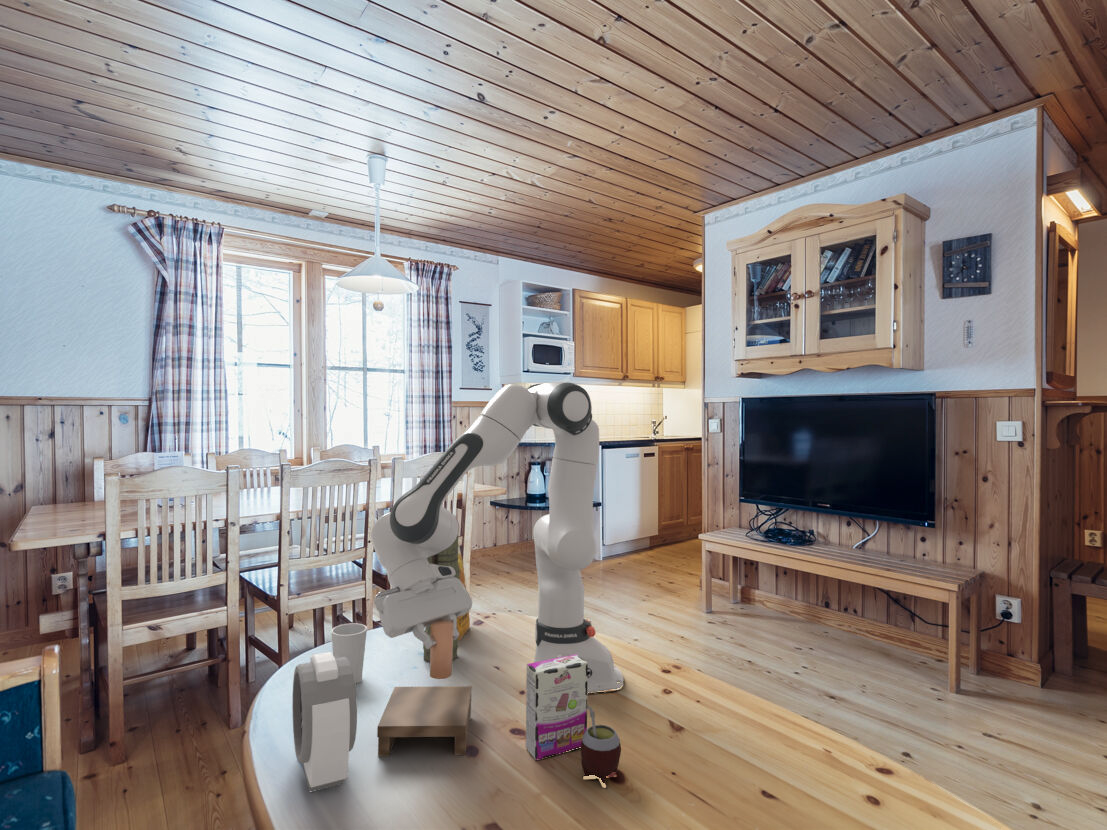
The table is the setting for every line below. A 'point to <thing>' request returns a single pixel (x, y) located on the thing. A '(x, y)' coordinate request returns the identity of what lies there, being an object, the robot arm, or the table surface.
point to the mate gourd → (599, 750)
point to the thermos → (451, 559)
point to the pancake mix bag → (464, 620)
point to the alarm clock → (324, 718)
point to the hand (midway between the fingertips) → (443, 642)
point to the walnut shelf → (426, 715)
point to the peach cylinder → (441, 649)
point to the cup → (350, 646)
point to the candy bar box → (556, 705)
